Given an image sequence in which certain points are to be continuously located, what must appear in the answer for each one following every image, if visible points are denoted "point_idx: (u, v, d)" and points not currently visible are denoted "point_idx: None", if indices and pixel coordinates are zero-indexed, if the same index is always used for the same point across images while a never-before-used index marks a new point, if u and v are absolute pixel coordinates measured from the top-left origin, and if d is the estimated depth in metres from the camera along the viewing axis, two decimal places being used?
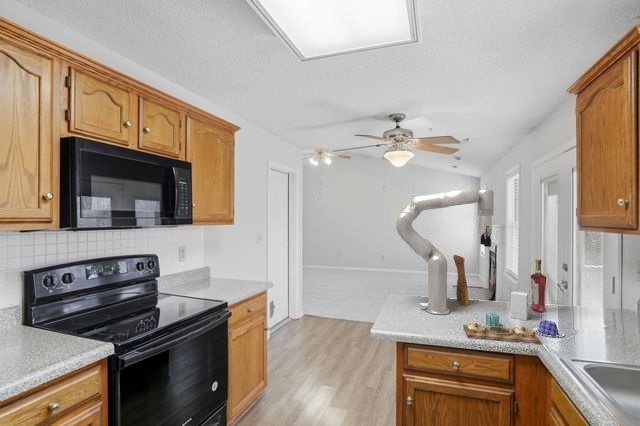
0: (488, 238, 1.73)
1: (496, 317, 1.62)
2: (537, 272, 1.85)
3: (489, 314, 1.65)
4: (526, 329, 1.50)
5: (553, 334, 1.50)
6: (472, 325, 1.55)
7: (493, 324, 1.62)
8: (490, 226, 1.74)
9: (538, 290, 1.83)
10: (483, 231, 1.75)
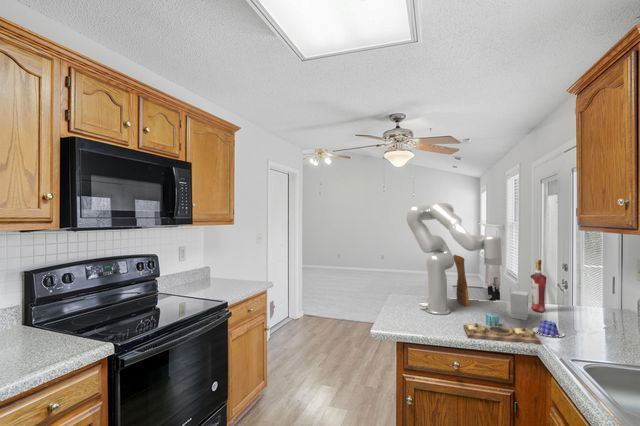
0: (497, 291, 1.58)
1: (496, 317, 1.62)
2: (537, 272, 1.85)
3: (489, 314, 1.65)
4: (526, 329, 1.50)
5: (553, 334, 1.50)
6: (472, 325, 1.55)
7: (493, 324, 1.62)
8: (498, 277, 1.59)
9: (538, 290, 1.83)
10: (491, 283, 1.60)
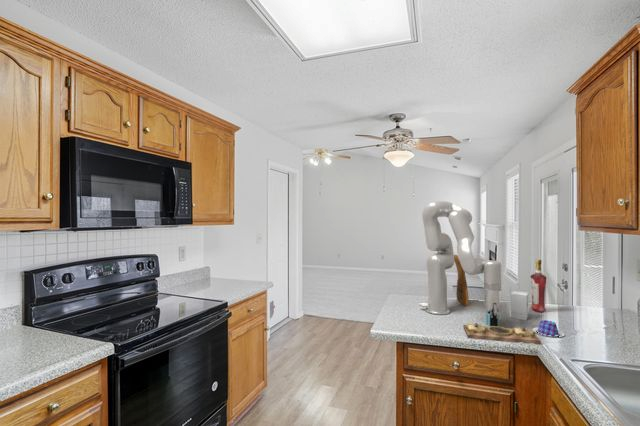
0: (494, 318, 1.60)
1: None
2: (537, 272, 1.85)
3: (489, 314, 1.65)
4: (526, 329, 1.50)
5: (552, 334, 1.50)
6: (472, 325, 1.55)
7: None
8: (498, 303, 1.59)
9: (538, 290, 1.83)
10: (490, 308, 1.60)
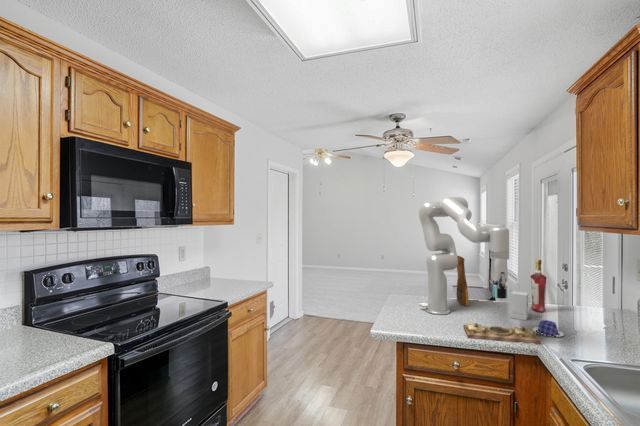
0: (502, 288, 1.47)
1: None
2: (537, 272, 1.85)
3: (496, 285, 1.51)
4: (526, 329, 1.50)
5: (551, 334, 1.50)
6: (472, 325, 1.55)
7: None
8: (506, 272, 1.46)
9: (538, 290, 1.83)
10: (497, 278, 1.47)
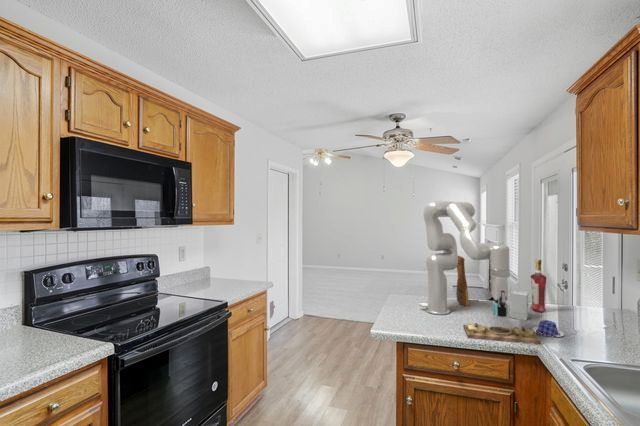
0: (503, 307, 1.46)
1: None
2: (537, 272, 1.85)
3: (497, 303, 1.51)
4: (526, 329, 1.50)
5: (551, 334, 1.51)
6: (472, 325, 1.55)
7: None
8: (506, 291, 1.46)
9: (538, 290, 1.83)
10: (497, 296, 1.46)
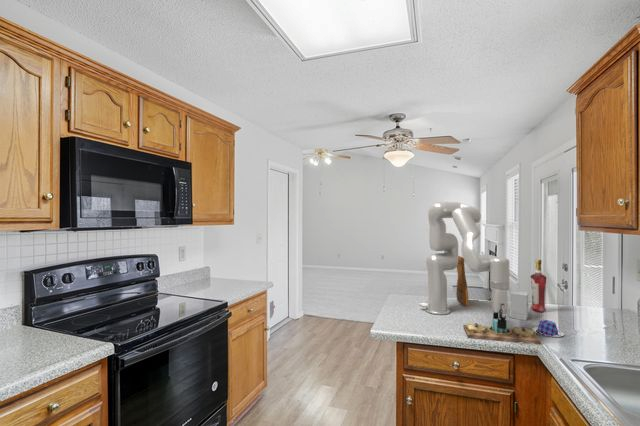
0: (503, 319, 1.46)
1: None
2: (537, 272, 1.85)
3: (496, 320, 1.51)
4: (526, 329, 1.50)
5: (551, 334, 1.51)
6: (472, 325, 1.55)
7: (501, 331, 1.48)
8: (505, 304, 1.46)
9: (538, 290, 1.83)
10: (497, 309, 1.47)
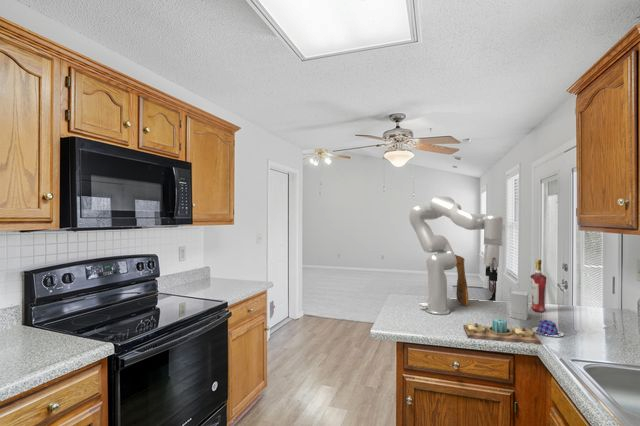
0: (494, 272, 1.53)
1: (504, 323, 1.49)
2: (537, 272, 1.85)
3: (496, 320, 1.51)
4: (526, 329, 1.50)
5: (550, 333, 1.51)
6: (472, 325, 1.55)
7: (501, 331, 1.48)
8: (497, 258, 1.53)
9: (538, 290, 1.83)
10: (489, 263, 1.54)
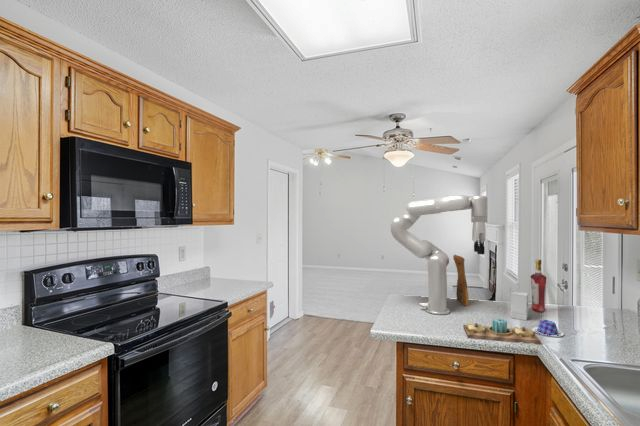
0: (481, 245, 1.70)
1: (504, 323, 1.49)
2: (537, 272, 1.85)
3: (496, 320, 1.51)
4: (526, 329, 1.50)
5: (549, 333, 1.51)
6: (472, 325, 1.55)
7: (501, 331, 1.48)
8: (484, 233, 1.70)
9: (538, 290, 1.83)
10: (476, 238, 1.71)
